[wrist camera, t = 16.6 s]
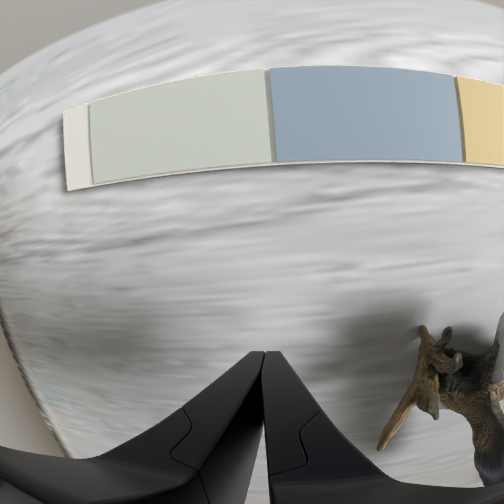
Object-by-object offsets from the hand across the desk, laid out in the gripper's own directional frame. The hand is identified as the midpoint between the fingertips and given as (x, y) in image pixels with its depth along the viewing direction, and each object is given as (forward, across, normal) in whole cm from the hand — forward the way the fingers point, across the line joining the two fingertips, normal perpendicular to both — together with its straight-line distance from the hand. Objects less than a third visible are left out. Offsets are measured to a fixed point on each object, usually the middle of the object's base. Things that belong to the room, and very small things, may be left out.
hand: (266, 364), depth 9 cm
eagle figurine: (+4, -9, +4) cm, 11 cm away
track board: (+4, -4, -7) cm, 9 cm away
